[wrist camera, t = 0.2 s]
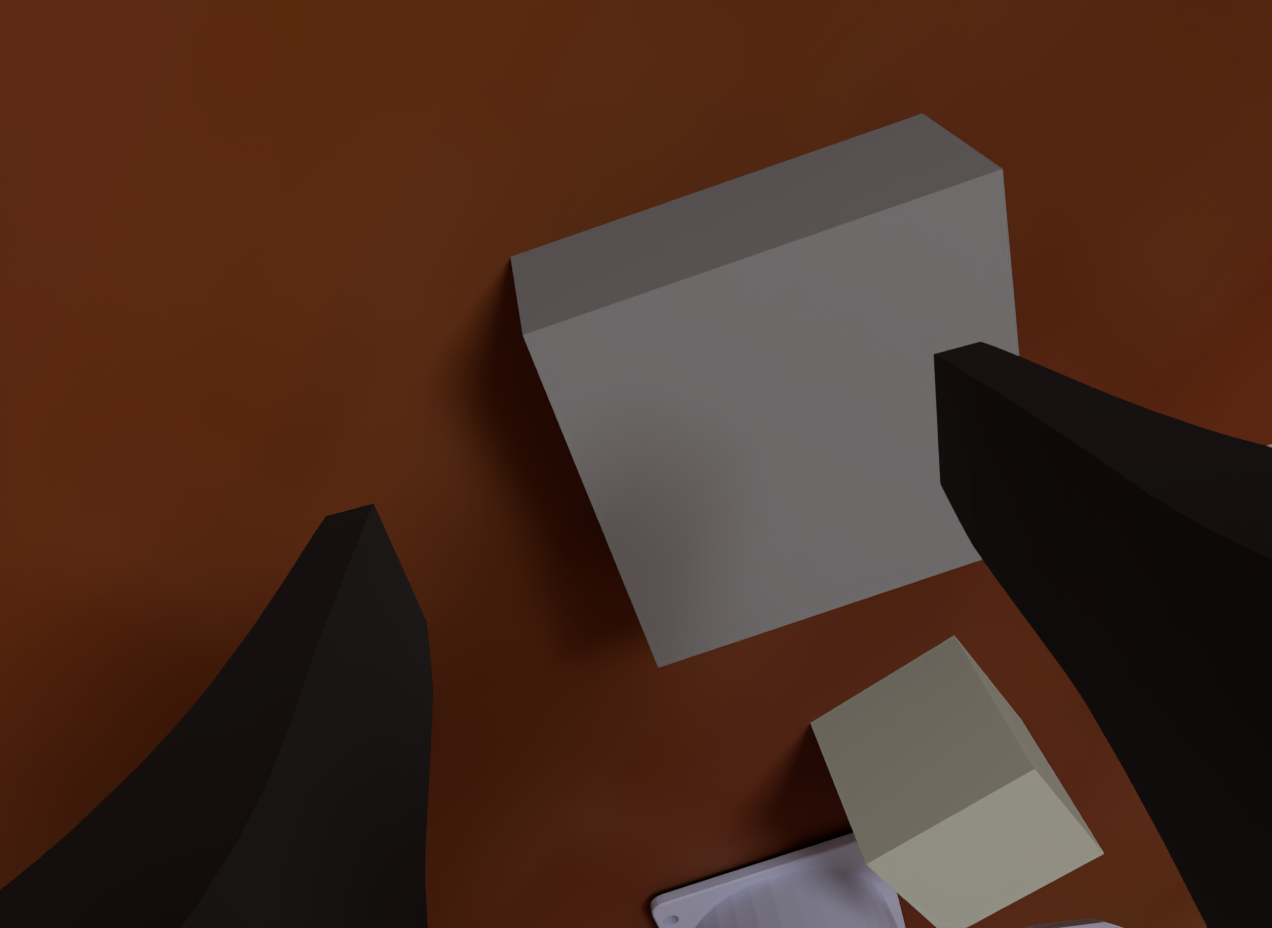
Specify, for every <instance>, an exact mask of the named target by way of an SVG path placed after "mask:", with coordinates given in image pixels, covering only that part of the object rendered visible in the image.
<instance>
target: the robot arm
mask: <svg viewBox="0 0 1272 928" xmlns="http://www.w3.org/2000/svg"><path fill="white" fill-rule="evenodd" d="M934 374H935V393H936V412H937V432H938V451H939V471H940V485H941V487H942V489H943V491H944V492H945V494H946V496H947V498H948V500H949V502H950V504H951V506H952V508H953V510H954V512H955V514H956V516H957V518H958V520H959V522H960V523H961V525H962V527H963V529H964V531H965V532H966V534H967V536H968V538H969V540H970V542H971V543H972V545H973V547H974V548H975V550H976V551H977V552H978V554H979V555H980V557H981V558H982V560H983V561H984V562H985V564H986V565H987V566H988V568H989V569H990V571H991V572H992V573H993V575H994V576H995V578H996V579H997V580H998V582H999V583H1000V584H1001V586H1002V587H1003V589H1004V590H1005V591H1006V593H1007V594H1008V595H1009V597H1010V598H1011V599H1012V601H1013V602H1014V604H1015V605H1016V606H1017V608H1018V609H1019V610H1020V612H1021V613H1022V614H1023V616H1024V617H1025V618H1026V620H1027V621H1028V622H1029V624H1030V625H1031V627H1032V628H1033V629H1034V631H1035V632H1036V633H1037V635H1038V636H1039V637H1040V639H1041V640H1042V641H1043V643H1044V644H1045V646H1046V647H1047V648H1048V650H1049V651H1050V652H1051V654H1052V655H1053V656H1054V658H1055V659H1056V660H1057V662H1058V663H1059V665H1060V666H1061V667H1062V669H1063V670H1064V671H1065V673H1066V674H1067V676H1068V677H1069V679H1070V680H1071V682H1072V683H1073V685H1074V686H1075V688H1076V689H1077V691H1078V692H1079V694H1080V695H1081V696H1082V698H1083V699H1084V701H1085V702H1086V704H1087V706H1088V707H1089V709H1090V711H1091V713H1092V714H1093V716H1094V718H1095V720H1096V721H1097V723H1098V725H1099V727H1100V728H1101V730H1102V732H1103V733H1104V735H1105V737H1106V739H1107V740H1108V742H1109V744H1110V746H1111V747H1112V749H1113V751H1114V753H1115V754H1116V756H1117V758H1118V759H1119V761H1120V763H1121V765H1122V766H1123V768H1124V770H1125V772H1126V774H1127V775H1128V777H1129V779H1130V781H1131V783H1132V785H1133V786H1134V788H1135V790H1136V792H1137V794H1138V796H1139V797H1140V799H1141V801H1142V803H1143V805H1144V807H1145V808H1146V810H1147V812H1148V814H1149V816H1150V818H1151V819H1152V821H1153V823H1154V825H1155V827H1156V829H1157V830H1158V832H1159V834H1160V836H1161V838H1162V840H1163V842H1164V844H1165V846H1166V847H1167V849H1168V851H1169V853H1170V855H1171V857H1172V859H1173V861H1174V863H1175V865H1176V867H1177V869H1178V871H1179V873H1180V875H1181V877H1182V879H1183V881H1184V883H1185V884H1186V886H1187V888H1188V890H1189V892H1190V894H1191V896H1192V898H1193V900H1194V902H1195V904H1196V906H1197V908H1198V910H1199V912H1200V914H1201V916H1202V918H1203V920H1204V921H1205V924H1206V926H1207V928H1272V447H1268V446H1265V445H1261V444H1257V443H1253V442H1249V441H1246V440H1242V439H1238V438H1234V437H1231V436H1227V435H1224V434H1221V433H1217V432H1214V431H1211V430H1207V429H1204V428H1201V427H1198V426H1195V425H1192V424H1189V423H1186V422H1184V421H1181V420H1178V419H1175V418H1172V417H1169V416H1166V415H1163V414H1160V413H1157V412H1154V411H1152V410H1149V409H1146V408H1144V407H1141V406H1138V405H1136V404H1133V403H1130V402H1128V401H1125V400H1123V399H1120V398H1118V397H1115V396H1112V395H1110V394H1107V393H1105V392H1103V391H1100V390H1098V389H1095V388H1093V387H1090V386H1088V385H1085V384H1083V383H1081V382H1078V381H1076V380H1074V379H1071V378H1069V377H1066V376H1064V375H1062V374H1059V373H1057V372H1055V371H1052V370H1050V369H1048V368H1045V367H1043V366H1041V365H1038V364H1036V363H1034V362H1031V361H1029V360H1027V359H1024V358H1022V357H1020V356H1017V355H1015V354H1013V353H1010V352H1008V351H1005V350H1003V349H1000V348H998V347H995V346H992V345H989V344H987V343H984V342H977V343H973V344H969V345H966V346H962V347H958V348H954V349H951V350H947V351H943V352H939V353H936V354H934ZM432 705H433V685H432V672H431V660H430V650H429V640H428V630H427V622H426V619H425V617H424V615H423V613H422V610H421V608H420V606H419V604H418V602H417V599H416V597H415V595H414V593H413V590H412V588H411V586H410V584H409V582H408V579H407V577H406V575H405V573H404V570H403V568H402V566H401V564H400V561H399V559H398V557H397V555H396V553H395V550H394V548H393V546H392V544H391V541H390V539H389V537H388V535H387V533H386V530H385V528H384V526H383V524H382V521H381V519H380V517H379V515H378V512H377V510H376V508H375V506H374V504H371V505H367V506H363V507H359V508H356V509H352V510H348V511H344V512H341V513H337V514H333V515H329V516H326V517H325V519H324V520H323V522H322V523H321V524H320V526H319V527H318V529H317V530H316V532H315V533H314V535H313V536H312V538H311V539H310V541H309V543H308V544H307V546H306V547H305V549H304V550H303V552H302V554H301V555H300V557H299V558H298V560H297V561H296V563H295V565H294V566H293V568H292V569H291V571H290V572H289V574H288V576H287V577H286V579H285V580H284V582H283V583H282V585H281V586H280V588H279V589H278V591H277V592H276V594H275V595H274V597H273V598H272V600H271V601H270V603H269V604H268V606H267V607H266V609H265V610H264V612H263V613H262V615H261V616H260V618H259V619H258V621H257V622H256V624H255V625H254V627H253V628H252V629H251V631H250V632H249V633H248V635H247V636H246V637H245V639H244V640H243V641H242V643H241V644H240V646H239V647H238V648H237V650H236V651H235V652H234V654H233V655H232V656H231V658H230V659H229V660H228V662H227V663H226V664H225V666H224V667H223V668H222V670H221V671H220V672H219V674H218V675H217V676H216V678H215V679H214V680H213V682H212V683H211V685H210V686H209V687H208V688H207V690H206V691H205V692H204V693H203V695H202V696H201V697H200V698H199V699H198V701H197V702H196V703H195V704H194V705H193V707H192V708H191V709H190V710H189V711H188V713H187V714H186V715H185V716H184V717H183V718H182V720H181V721H180V722H179V723H178V724H177V725H176V726H175V727H174V729H173V730H172V731H171V732H170V733H169V734H168V735H167V736H166V737H165V739H164V740H163V741H162V742H161V743H160V744H159V745H158V746H157V747H156V749H155V750H154V751H153V752H152V753H151V754H150V755H149V756H148V757H147V758H146V759H145V760H144V761H143V762H142V763H141V764H140V765H139V766H138V767H137V768H136V769H135V770H134V771H133V772H132V773H131V774H130V775H129V776H128V777H127V778H126V779H125V780H124V781H123V782H122V783H121V784H120V785H119V786H118V787H117V788H116V789H115V790H114V791H113V792H112V793H111V794H109V795H108V796H107V797H106V798H105V799H104V800H103V801H102V802H101V803H100V804H99V805H98V806H97V807H96V808H95V809H94V810H93V811H92V812H91V813H90V814H89V815H88V816H87V817H86V818H85V819H84V820H83V821H82V822H81V823H79V824H78V825H77V826H76V827H75V828H74V829H73V830H72V831H71V832H69V833H68V834H67V835H66V836H65V837H64V838H62V839H61V840H60V841H59V842H58V843H57V844H56V845H54V846H53V847H52V848H51V849H50V850H49V851H47V852H46V853H45V854H44V855H43V856H42V857H41V858H39V859H38V860H37V861H36V862H35V863H33V864H32V865H31V866H30V867H28V868H27V869H26V870H25V871H24V872H22V873H21V874H20V875H19V876H17V877H16V878H15V879H14V880H13V881H11V882H10V883H9V884H8V885H7V886H5V887H4V888H3V889H2V890H0V928H428V925H427V908H426V890H425V845H426V826H427V807H428V788H429V769H430V750H431V728H432ZM651 910H652V915H653V918H654V919H655V921H656V923H657V925H658V927H659V928H905V924H904V920H903V916H902V912H901V908H900V904H899V900H898V896H897V892H896V891H895V890H894V889H893V888H892V887H891V886H890V885H889V884H887V883H886V882H885V881H884V880H883V879H882V878H881V877H880V876H878V875H877V874H876V873H875V872H874V871H873V870H872V869H871V868H870V867H868V866H867V865H866V863H865V860H864V858H863V855H862V853H861V850H860V848H859V845H858V843H857V840H856V838H855V835H854V833H850V834H847V835H844V836H841V837H838V838H835V839H832V840H829V841H826V842H823V843H819V844H816V845H813V846H810V847H807V848H804V849H801V850H798V851H795V852H791V853H788V854H785V855H782V856H779V857H776V858H773V859H770V860H767V861H763V862H760V863H757V864H754V865H751V866H748V867H745V868H742V869H739V870H735V871H732V872H729V873H726V874H723V875H720V876H717V877H714V878H711V879H707V880H704V881H701V882H698V883H695V884H692V885H689V886H686V887H683V888H679V889H676V890H673V891H670V892H667V893H664V894H661V895H659V896H657V897H656V898H654V899H653V900H652V902H651ZM1025 928H1122V927H1119V926H1116V925H1113V924H1109V923H1106V922H1103V921H1099V920H1096V919H1092V918H1088V919H1080V920H1072V921H1064V922H1055V923H1047V924H1039V925H1032V926H1029V927H1025Z"/></svg>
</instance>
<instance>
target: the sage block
mask: <svg viewBox="0 0 1272 928" xmlns="http://www.w3.org/2000/svg"><path fill="white" fill-rule="evenodd" d="M811 726H812V729H813V731H814V734H815V736H816V739H817V741H818V744H819V746H820V749H821V751H822V754H823V756H824V759H825V762H826V764H827V767H828V769H829V772H830V774H831V777H832V779H833V782H834V784H835V787H836V789H837V792H838V794H839V797H840V800H841V802H842V805H843V807H844V810H845V812H846V815H847V817H848V820H849V822H850V825H851V827H852V830H853V833H854V835H855V838H856V840H857V843H858V845H859V848H860V850H861V853H862V855H863V858H864V860H865V863H866V865H867V866H868V867H870V868H871V869H872V870H873V871H874V872H875V873H876V874H877V875H878V876H880V877H881V878H882V879H883V880H884V881H885V882H886V883H887V884H889V885H890V886H891V887H892V888H893V889H894V890H895V891H896V892H897V893H899V894H900V895H901V896H902V897H903V898H904V899H905V900H906V901H908V902H909V903H910V904H911V905H912V906H913V907H914V908H915V909H917V910H918V911H919V912H920V913H921V914H922V915H923V916H924V917H925V918H927V919H928V920H929V921H930V922H931V923H932V924H933V925H934V926H936V927H937V928H967V927H969V926H970V925H972V924H974V923H976V922H978V921H980V920H982V919H983V918H985V917H987V916H989V915H991V914H993V913H995V912H996V911H998V910H1000V909H1002V908H1004V907H1006V906H1008V905H1009V904H1011V903H1013V902H1015V901H1017V900H1019V899H1021V898H1022V897H1024V896H1026V895H1028V894H1030V893H1032V892H1034V891H1035V890H1037V889H1039V888H1041V887H1043V886H1045V885H1047V884H1049V883H1050V882H1052V881H1054V880H1056V879H1058V878H1060V877H1062V876H1063V875H1065V874H1067V873H1069V872H1071V871H1073V870H1075V869H1076V868H1078V867H1080V866H1082V865H1084V864H1086V863H1088V862H1089V861H1091V860H1093V859H1095V858H1097V857H1099V856H1101V855H1102V854H1104V853H1103V851H1102V849H1101V848H1100V846H1099V844H1098V843H1097V841H1096V840H1095V838H1094V836H1093V835H1092V833H1091V831H1090V830H1089V828H1088V827H1087V825H1086V823H1085V822H1084V820H1083V819H1082V817H1081V815H1080V814H1079V812H1078V810H1077V809H1076V807H1075V806H1074V804H1073V802H1072V801H1071V799H1070V798H1069V796H1068V794H1067V793H1066V791H1065V789H1064V788H1063V786H1062V785H1061V783H1060V781H1059V780H1058V778H1057V777H1056V775H1055V773H1054V772H1053V770H1052V768H1051V767H1050V765H1049V764H1048V762H1047V760H1046V759H1045V757H1044V756H1043V754H1042V752H1041V751H1040V749H1039V747H1038V746H1037V744H1036V743H1035V741H1034V739H1033V738H1032V736H1031V735H1030V733H1029V731H1028V730H1027V728H1026V726H1025V725H1024V723H1023V722H1022V720H1021V719H1020V718H1019V716H1018V715H1017V714H1016V713H1015V711H1014V710H1013V709H1012V707H1011V706H1010V705H1009V704H1008V702H1007V701H1006V700H1005V699H1004V697H1003V696H1002V695H1001V694H1000V692H999V691H998V690H997V689H996V687H995V686H994V685H993V684H992V682H991V681H990V680H989V679H988V677H987V676H986V675H985V674H984V672H983V671H982V670H981V668H980V667H979V666H978V665H977V663H976V662H975V661H974V660H973V658H972V657H971V656H970V655H969V653H968V652H967V651H966V650H965V648H964V647H963V646H962V645H961V643H960V642H959V641H958V640H957V638H956V637H955V636H952V637H951V638H949V639H948V640H946V641H944V642H943V643H941V644H939V645H938V646H936V647H934V648H933V649H931V650H929V651H928V652H926V653H925V654H923V655H921V656H920V657H918V658H916V659H915V660H913V661H911V662H910V663H908V664H907V665H905V666H903V667H902V668H900V669H898V670H897V671H895V672H893V673H892V674H890V675H888V676H887V677H885V678H884V679H882V680H880V681H879V682H877V683H875V684H874V685H872V686H870V687H869V688H867V689H866V690H864V691H862V692H861V693H859V694H857V695H856V696H854V697H852V698H851V699H849V700H847V701H846V702H844V703H843V704H841V705H839V706H838V707H836V708H834V709H833V710H831V711H829V712H828V713H826V714H825V715H823V716H821V717H820V718H818V719H816V720H815V721H813V722H811Z"/></svg>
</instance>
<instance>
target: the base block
mask: <svg viewBox="0 0 1272 928" xmlns="http://www.w3.org/2000/svg"><path fill="white" fill-rule="evenodd" d="M511 263H512V270H513V276H514V283H515V289H516V295H517V302H518V308H519V314H520V321H521V327H522V333H523V337H524V339H525V342H526V344H527V347H528V349H529V352H530V354H531V357H532V359H533V362H534V364H535V366H536V369H537V371H538V374H539V376H540V379H541V381H542V384H543V386H544V389H545V391H546V393H547V396H548V398H549V401H550V403H551V406H552V408H553V411H554V413H555V415H556V418H557V420H558V423H559V425H560V428H561V430H562V433H563V435H564V438H565V440H566V442H567V445H568V447H569V450H570V452H571V455H572V457H573V460H574V462H575V465H576V467H577V469H578V472H579V474H580V477H581V479H582V482H583V484H584V487H585V489H586V492H587V494H588V496H589V499H590V501H591V504H592V506H593V509H594V511H595V514H596V516H597V519H598V521H599V523H600V526H601V528H602V531H603V533H604V536H605V538H606V541H607V543H608V546H609V548H610V550H611V553H612V555H613V558H614V560H615V563H616V565H617V568H618V570H619V572H620V575H621V577H622V580H623V582H624V585H625V587H626V590H627V592H628V595H629V597H630V599H631V602H632V604H633V607H634V609H635V612H636V614H637V617H638V619H639V622H640V624H641V626H642V629H643V631H644V634H645V636H646V639H647V641H648V644H649V646H650V649H651V651H652V653H653V656H654V658H655V661H656V663H657V666H658V668H659V667H662V666H665V665H668V664H671V663H674V662H677V661H680V660H683V659H686V658H689V657H692V656H695V655H698V654H701V653H704V652H707V651H710V650H713V649H716V648H719V647H722V646H725V645H728V644H731V643H734V642H737V641H740V640H743V639H746V638H749V637H752V636H755V635H758V634H761V633H764V632H767V631H770V630H773V629H776V628H779V627H782V626H785V625H788V624H791V623H794V622H797V621H799V620H802V619H805V618H808V617H811V616H814V615H817V614H820V613H823V612H826V611H829V610H832V609H835V608H838V607H841V606H844V605H847V604H850V603H853V602H856V601H859V600H862V599H865V598H868V597H871V596H874V595H877V594H880V593H883V592H886V591H889V590H892V589H895V588H898V587H901V586H904V585H907V584H910V583H913V582H916V581H919V580H922V579H925V578H928V577H931V576H934V575H937V574H940V573H943V572H946V571H949V570H952V569H955V568H958V567H961V566H964V565H967V564H970V563H973V562H976V561H979V560H982V558H981V557H980V555H979V554H978V552H977V551H976V550H975V548H974V547H973V545H972V543H971V542H970V540H969V538H968V536H967V534H966V532H965V531H964V529H963V527H962V525H961V523H960V522H959V520H958V518H957V516H956V514H955V512H954V510H953V508H952V506H951V504H950V502H949V500H948V498H947V496H946V494H945V492H944V491H943V489H942V487H941V485H940V471H939V451H938V432H937V412H936V393H935V374H934V354H936V353H939V352H943V351H947V350H951V349H954V348H958V347H962V346H966V345H969V344H973V343H977V342H984V343H987V344H989V345H992V346H995V347H998V348H1000V349H1003V350H1005V351H1008V352H1010V353H1013V354H1015V355H1017V356H1019V349H1018V338H1017V326H1016V315H1015V304H1014V293H1013V281H1012V270H1011V259H1010V248H1009V236H1008V225H1007V214H1006V203H1005V191H1004V180H1003V169H1002V168H1000V167H999V166H997V165H996V164H995V163H993V162H992V161H990V160H989V159H987V158H986V157H985V156H983V155H982V154H980V153H979V152H977V151H976V150H974V149H973V148H972V147H970V146H969V145H967V144H966V143H964V142H963V141H961V140H960V139H959V138H957V137H956V136H954V135H953V134H951V133H950V132H948V131H947V130H946V129H944V128H943V127H941V126H940V125H938V124H937V123H935V122H934V121H933V120H931V119H930V118H928V117H927V116H925V115H924V114H920V115H917V116H914V117H911V118H908V119H905V120H903V121H900V122H897V123H894V124H891V125H888V126H885V127H882V128H880V129H877V130H874V131H871V132H868V133H865V134H862V135H859V136H857V137H854V138H851V139H848V140H845V141H842V142H839V143H837V144H834V145H831V146H828V147H825V148H822V149H819V150H816V151H814V152H811V153H808V154H805V155H802V156H799V157H796V158H793V159H791V160H788V161H785V162H782V163H779V164H776V165H773V166H770V167H768V168H765V169H762V170H759V171H756V172H753V173H750V174H747V175H745V176H742V177H739V178H736V179H733V180H730V181H727V182H724V183H722V184H719V185H716V186H713V187H710V188H707V189H704V190H701V191H699V192H696V193H693V194H690V195H687V196H684V197H681V198H679V199H676V200H673V201H670V202H667V203H664V204H661V205H658V206H656V207H653V208H650V209H647V210H644V211H641V212H638V213H635V214H633V215H630V216H627V217H624V218H621V219H618V220H615V221H612V222H610V223H607V224H604V225H601V226H598V227H595V228H592V229H589V230H587V231H584V232H581V233H578V234H575V235H572V236H569V237H566V238H564V239H561V240H558V241H555V242H552V243H549V244H546V245H543V246H541V247H538V248H535V249H532V250H529V251H526V252H523V253H520V254H518V255H515V256H512V257H511Z"/></svg>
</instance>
